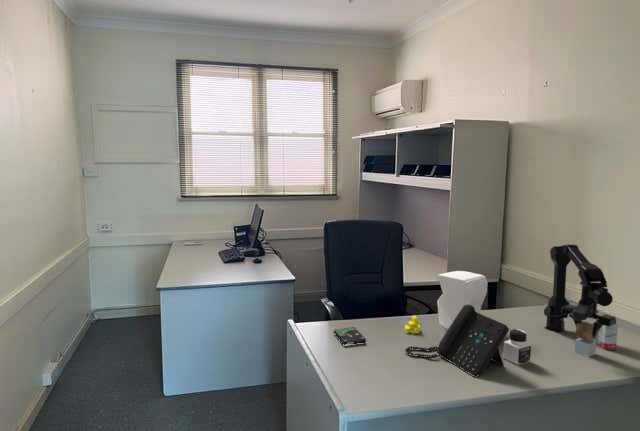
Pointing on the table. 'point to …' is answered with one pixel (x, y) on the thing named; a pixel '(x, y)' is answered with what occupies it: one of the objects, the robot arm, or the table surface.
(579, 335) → the walnut cube
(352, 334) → the disk drive
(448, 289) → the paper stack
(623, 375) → the table surface
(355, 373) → the table surface
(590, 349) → the painted cube
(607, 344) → the ink box
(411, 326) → the yellow ball pyramid
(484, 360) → the office phone
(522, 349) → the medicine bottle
